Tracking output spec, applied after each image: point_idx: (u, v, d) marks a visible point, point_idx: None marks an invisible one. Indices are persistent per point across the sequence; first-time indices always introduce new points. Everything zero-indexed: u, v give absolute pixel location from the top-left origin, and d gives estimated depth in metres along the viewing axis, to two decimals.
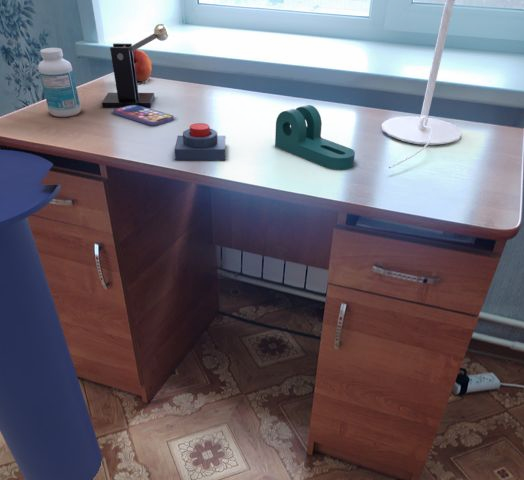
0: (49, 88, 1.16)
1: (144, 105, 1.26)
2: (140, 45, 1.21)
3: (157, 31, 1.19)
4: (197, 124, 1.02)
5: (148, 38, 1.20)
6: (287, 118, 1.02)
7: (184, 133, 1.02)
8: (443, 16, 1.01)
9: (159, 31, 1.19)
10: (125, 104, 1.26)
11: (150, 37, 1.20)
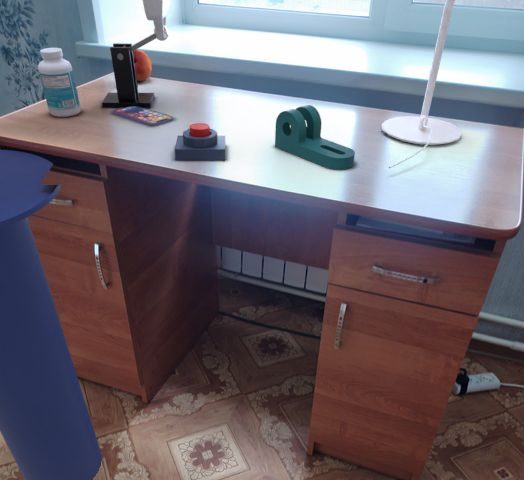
0: (49, 88, 1.16)
1: (144, 105, 1.26)
2: (140, 45, 1.21)
3: None
4: (197, 124, 1.02)
5: (148, 38, 1.20)
6: (287, 118, 1.02)
7: (184, 133, 1.02)
8: (443, 16, 1.01)
9: None
10: (125, 104, 1.26)
11: (150, 37, 1.20)
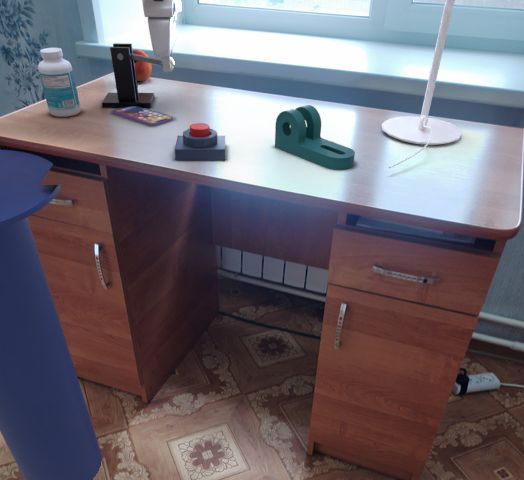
0: (49, 88, 1.16)
1: (144, 105, 1.26)
2: (143, 60, 1.23)
3: None
4: (197, 124, 1.02)
5: (153, 60, 1.23)
6: (287, 118, 1.02)
7: (184, 133, 1.02)
8: (443, 16, 1.01)
9: None
10: (125, 104, 1.26)
11: (156, 61, 1.23)
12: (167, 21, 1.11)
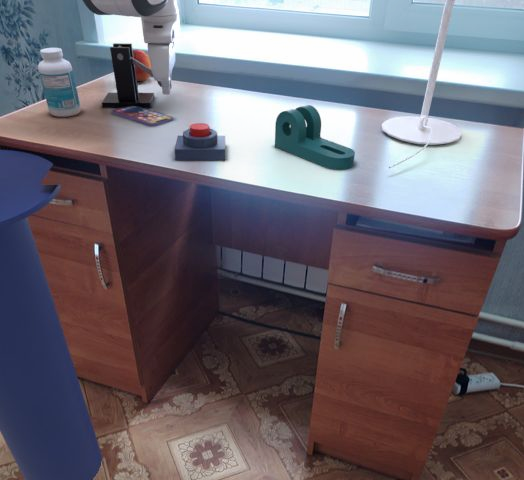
0: (49, 88, 1.16)
1: (144, 105, 1.26)
2: (141, 67, 1.24)
3: None
4: (197, 124, 1.02)
5: (151, 72, 1.25)
6: (287, 118, 1.02)
7: (184, 133, 1.02)
8: (443, 16, 1.01)
9: None
10: (125, 104, 1.26)
11: None
12: (167, 47, 1.14)
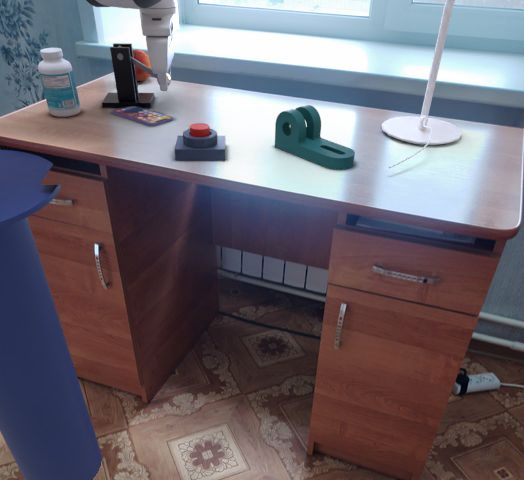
0: (49, 88, 1.16)
1: (144, 105, 1.26)
2: (141, 67, 1.24)
3: None
4: (197, 124, 1.02)
5: (151, 71, 1.25)
6: (287, 118, 1.02)
7: (184, 133, 1.02)
8: (443, 16, 1.01)
9: None
10: (125, 104, 1.26)
11: (153, 73, 1.25)
12: (165, 40, 1.14)
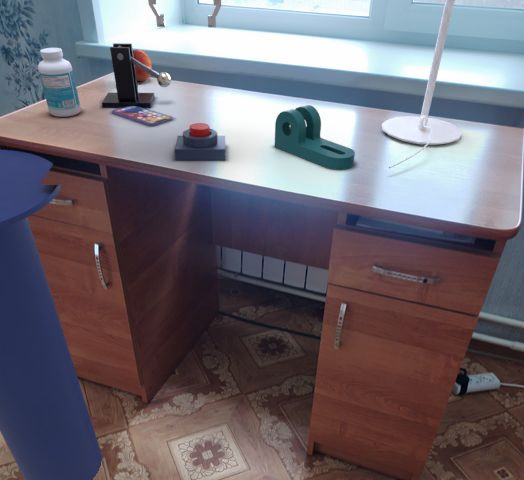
0: (49, 88, 1.16)
1: (144, 105, 1.26)
2: (141, 67, 1.24)
3: (162, 77, 1.25)
4: (197, 124, 1.02)
5: (151, 71, 1.25)
6: (287, 118, 1.02)
7: (184, 133, 1.02)
8: (443, 16, 1.01)
9: (164, 79, 1.25)
10: (125, 104, 1.26)
11: (153, 73, 1.25)
12: None
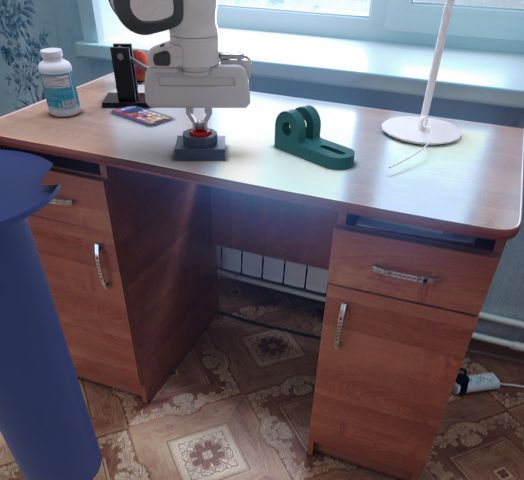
0: (49, 88, 1.16)
1: (144, 105, 1.26)
2: (141, 67, 1.24)
3: None
4: None
5: None
6: (286, 118, 1.02)
7: (184, 133, 1.02)
8: (443, 16, 1.01)
9: None
10: (125, 104, 1.26)
11: None
12: (147, 69, 0.92)
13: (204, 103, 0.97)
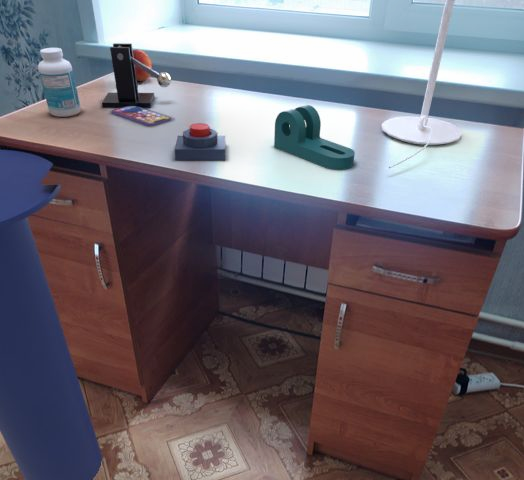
0: (49, 88, 1.16)
1: (144, 105, 1.26)
2: (141, 67, 1.24)
3: (162, 77, 1.25)
4: (197, 124, 1.02)
5: (151, 71, 1.25)
6: (286, 118, 1.02)
7: (184, 133, 1.02)
8: (443, 16, 1.01)
9: (164, 79, 1.25)
10: (125, 104, 1.26)
11: (153, 73, 1.25)
12: None
13: None
